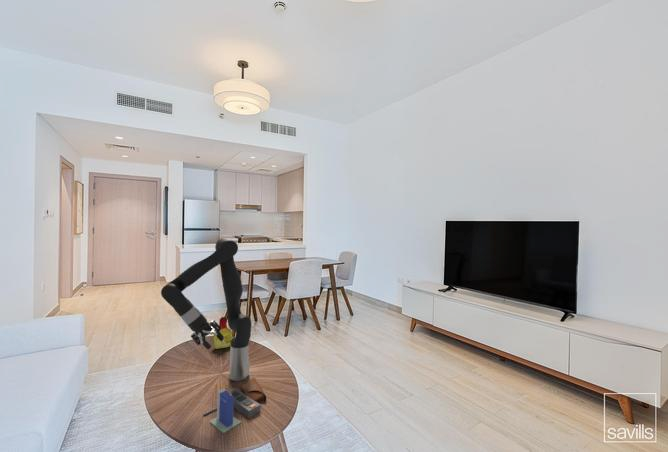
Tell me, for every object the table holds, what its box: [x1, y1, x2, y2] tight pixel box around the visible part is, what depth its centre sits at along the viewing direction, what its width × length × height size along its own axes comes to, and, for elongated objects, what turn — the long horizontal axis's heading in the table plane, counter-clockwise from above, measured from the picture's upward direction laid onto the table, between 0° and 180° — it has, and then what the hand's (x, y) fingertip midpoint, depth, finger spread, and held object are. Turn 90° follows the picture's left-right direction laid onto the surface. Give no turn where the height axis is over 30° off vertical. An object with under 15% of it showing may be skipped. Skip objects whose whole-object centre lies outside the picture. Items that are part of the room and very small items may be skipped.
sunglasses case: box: [239, 377, 267, 404], centre depth 144 cm, size 18×7×7 cm
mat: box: [209, 415, 242, 434], centre depth 123 cm, size 8×10×1 cm
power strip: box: [202, 388, 261, 419], centre depth 132 cm, size 25×18×3 cm
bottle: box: [212, 316, 233, 350], centre depth 193 cm, size 12×6×20 cm, turn 120°
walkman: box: [216, 388, 234, 427], centre depth 123 cm, size 8×3×12 cm, turn 51°
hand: (216, 344), depth 141 cm, fingers open, 8 cm apart
